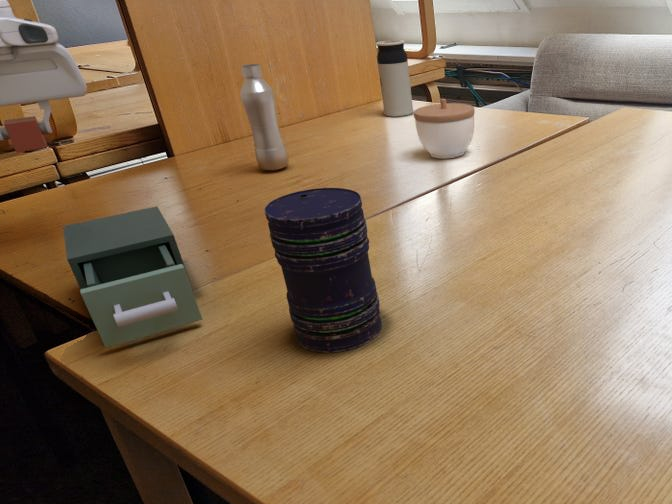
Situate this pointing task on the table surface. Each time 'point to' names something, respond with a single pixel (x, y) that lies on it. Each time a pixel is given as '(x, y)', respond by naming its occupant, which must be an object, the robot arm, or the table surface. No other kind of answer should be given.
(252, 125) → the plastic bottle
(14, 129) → the block
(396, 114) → the travel mug
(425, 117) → the lidded bowl
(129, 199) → the table surface
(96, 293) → the drawer
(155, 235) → the cabinet
